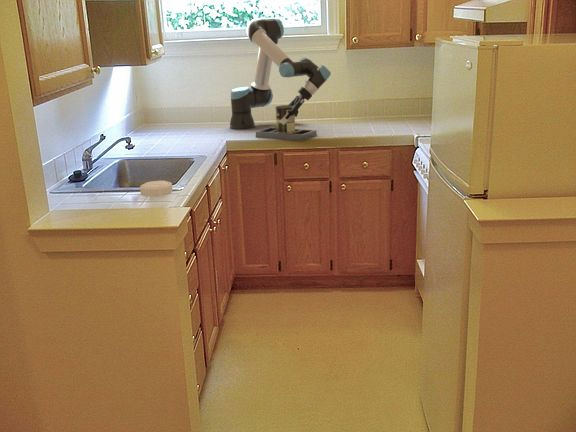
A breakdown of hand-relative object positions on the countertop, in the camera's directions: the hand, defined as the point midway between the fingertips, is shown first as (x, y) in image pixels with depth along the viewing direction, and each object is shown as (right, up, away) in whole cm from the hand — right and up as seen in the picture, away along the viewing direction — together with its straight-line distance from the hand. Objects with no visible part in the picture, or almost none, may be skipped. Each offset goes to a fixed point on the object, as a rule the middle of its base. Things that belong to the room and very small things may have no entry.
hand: (280, 121), depth 331 cm
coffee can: (+3, -6, +2) cm, 7 cm away
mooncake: (-46, -43, -98) cm, 116 cm away
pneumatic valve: (+6, +5, +44) cm, 45 cm away
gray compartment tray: (+3, -8, +3) cm, 9 cm away
